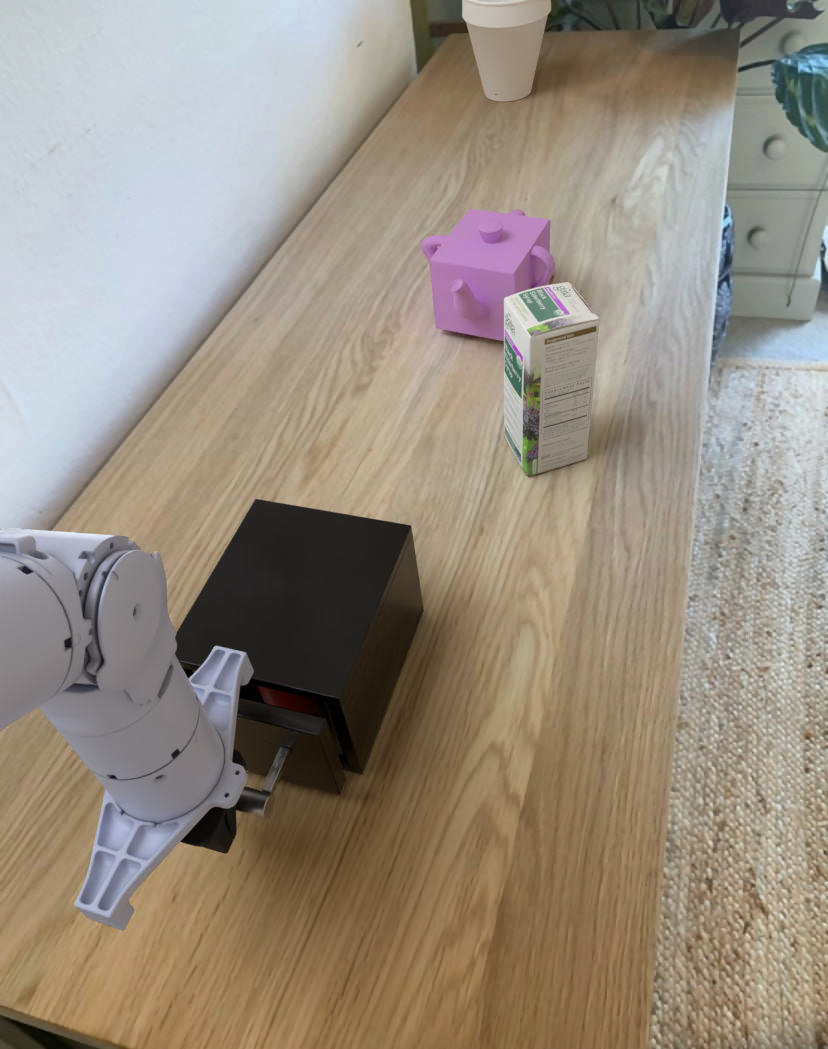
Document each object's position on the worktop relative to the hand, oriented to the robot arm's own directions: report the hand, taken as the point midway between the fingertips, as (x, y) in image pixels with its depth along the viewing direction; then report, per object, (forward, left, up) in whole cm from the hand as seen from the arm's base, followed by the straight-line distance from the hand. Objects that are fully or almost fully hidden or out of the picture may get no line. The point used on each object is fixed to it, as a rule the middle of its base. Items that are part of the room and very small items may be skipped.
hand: (216, 838), depth 50 cm
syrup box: (+40, -11, -4) cm, 42 cm away
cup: (+114, +10, -4) cm, 115 cm away
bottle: (+11, 0, -2) cm, 11 cm away
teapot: (+58, -1, -4) cm, 58 cm away
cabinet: (+14, 0, -4) cm, 15 cm away
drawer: (+10, 0, -3) cm, 10 cm away
